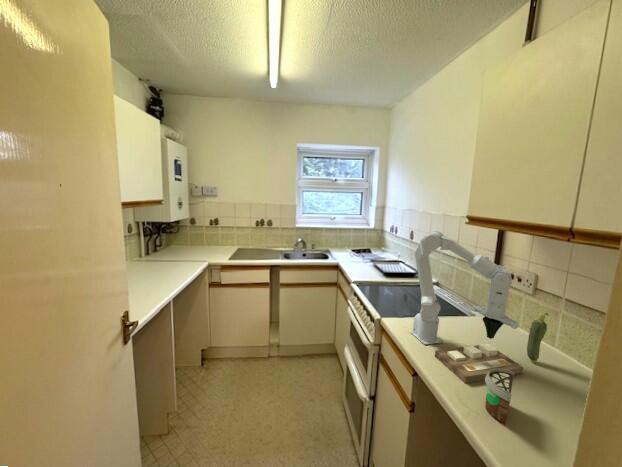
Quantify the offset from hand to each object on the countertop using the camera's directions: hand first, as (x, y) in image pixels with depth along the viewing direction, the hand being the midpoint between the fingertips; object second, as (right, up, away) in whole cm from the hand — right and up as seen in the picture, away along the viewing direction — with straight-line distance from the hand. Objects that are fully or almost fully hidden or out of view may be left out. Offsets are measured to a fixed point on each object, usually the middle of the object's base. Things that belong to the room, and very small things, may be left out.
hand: (490, 337), depth 99 cm
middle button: (-7, -6, -1) cm, 9 cm away
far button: (0, -6, +1) cm, 6 cm away
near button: (-14, -7, -2) cm, 16 cm away
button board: (-7, -9, -3) cm, 11 cm away
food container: (-14, -12, -22) cm, 29 cm away
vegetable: (+16, -9, +1) cm, 19 cm away
